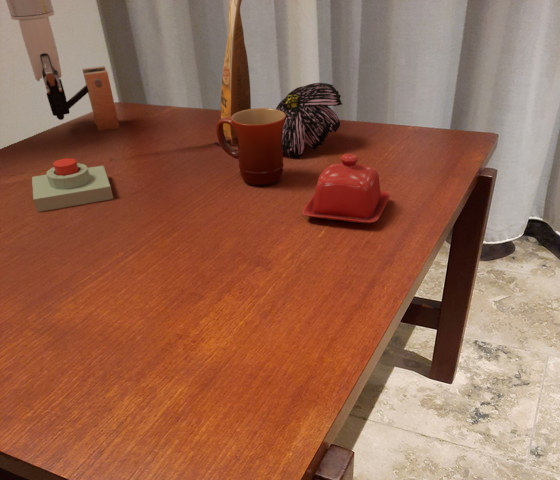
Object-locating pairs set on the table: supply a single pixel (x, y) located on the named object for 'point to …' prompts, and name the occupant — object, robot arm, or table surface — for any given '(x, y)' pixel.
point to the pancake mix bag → (235, 72)
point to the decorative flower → (308, 117)
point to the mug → (256, 144)
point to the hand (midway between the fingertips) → (60, 107)
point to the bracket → (101, 98)
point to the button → (65, 166)
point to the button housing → (71, 188)
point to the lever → (76, 98)
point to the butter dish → (348, 193)
